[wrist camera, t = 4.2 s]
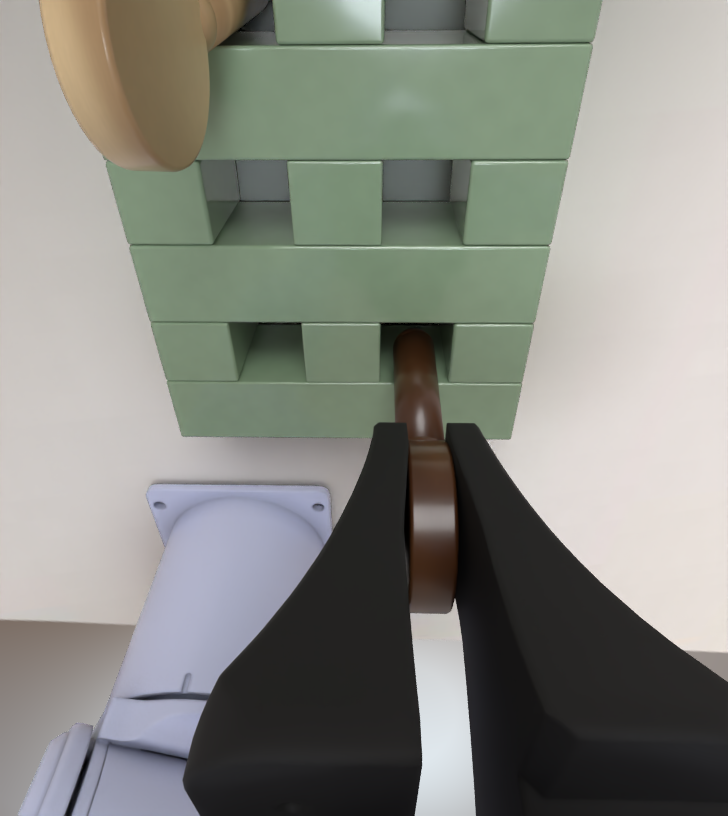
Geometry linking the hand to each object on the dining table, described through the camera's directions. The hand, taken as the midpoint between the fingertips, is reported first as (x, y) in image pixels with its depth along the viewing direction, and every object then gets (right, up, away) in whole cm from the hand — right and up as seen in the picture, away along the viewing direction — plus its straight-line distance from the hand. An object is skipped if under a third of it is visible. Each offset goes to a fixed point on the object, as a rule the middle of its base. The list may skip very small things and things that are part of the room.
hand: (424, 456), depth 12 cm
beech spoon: (-4, +11, +1) cm, 12 cm away
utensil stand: (-2, +8, +3) cm, 9 cm away
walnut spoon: (0, +3, +4) cm, 5 cm away
